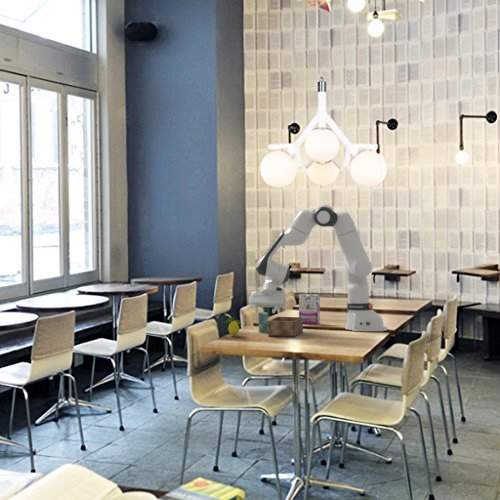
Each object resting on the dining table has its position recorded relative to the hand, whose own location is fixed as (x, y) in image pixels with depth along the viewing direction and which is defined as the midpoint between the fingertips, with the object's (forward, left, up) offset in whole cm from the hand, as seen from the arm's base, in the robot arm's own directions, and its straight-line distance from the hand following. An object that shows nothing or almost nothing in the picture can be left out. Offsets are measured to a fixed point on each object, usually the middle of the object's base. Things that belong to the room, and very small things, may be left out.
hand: (264, 312), depth 426 cm
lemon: (+11, +21, -10) cm, 26 cm away
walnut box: (-14, +11, -10) cm, 20 cm away
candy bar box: (-17, -31, -10) cm, 37 cm away
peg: (0, +4, -10) cm, 11 cm away
